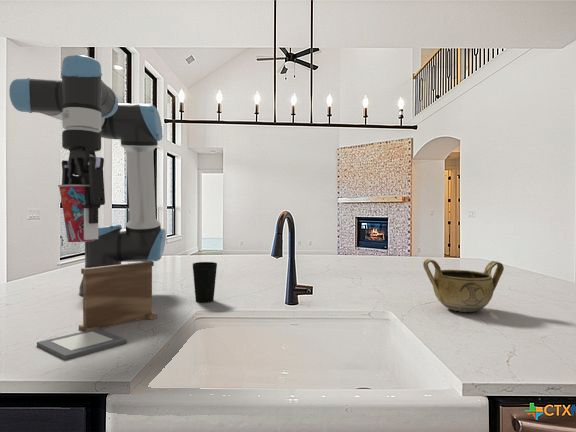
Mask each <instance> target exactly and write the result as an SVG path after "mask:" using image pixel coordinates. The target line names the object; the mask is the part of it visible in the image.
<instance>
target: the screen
mask: <svg viewBox="0 0 576 432" xmlns="http://www.w3.org/2000/svg"><path fill="white" fill-rule="evenodd" d="M154 262H155V261H146V262H127V263H121V264H119V265H109V266H100V267H91V268H85V267H84V268H83V267H82V268H80V271H81V273H80V274H81V275H82V278H83V295H82V309H83V310H82V322H83V323H81V324H78V330H80V331H81V332H83V331H88V330H95V329H99V330H102V329H105V328H109V327H113V326H116V325H117V326H119V325H122V323H123V324H126V323H129V322H134V321H140V320H143V319H148V320H154V319H158V314H157V313H153V267H154V266H155V263H154Z"/></svg>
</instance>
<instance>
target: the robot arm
mask: <svg viewBox="0 0 576 432" xmlns="http://www.w3.org/2000/svg"><path fill="white" fill-rule="evenodd" d="M60 75H61V80H59V79H58V80H57V79H40V78H39V79H36V78H30V77H28V78H16V79H14V80H12V81H11V82H10V86H9V99H10V102H11V105H12V106H13V108H14V109H15V110H16V111H18V112H23V113H30V114H31V113H32V114H33V113H35V114H36V113H37V114H38V113H39V114H42V115H46V116H48V117H51V118H54V119H56V120H59V121H62V122H61V123H62V124H61V125H62V128H63V129H64V130H62V132H61V133H62V134H61V137H62V138H61V141H62V142H61V145H62V148H63V149H64V150H68V151H69V155H68V160H62V161H61V170H62V171H61V172H62V175H61V177H62V178H61V185H69V184H80V185H90V186H85V202H86V204H85V205H83V208H84V240H92V239H94V241H90V242H83V243H84V268H91V267H100V266H109V265H119V264H122V262H123V263H124V262H127V263H137V262H146V261H153V262H159V261H160V260H161V259H162V256H163V254H164V252H165V251H164V250H165V246H166V245H165V244H166V239H167V238H166V237H167V233H166V229H165V228H161V226H162V225H161V222H160V221H159V220H158V219H157V218H156V217H157V216H156V192H155V191H156V190H155V189H156V188H155V165H154V163H155V162H154V161H155V160H154V150H155V149H156V148H157V147H158V142H160V141H162V139H163V125H162V120H161V117H160V113H159V111H158V109H157V107H156V106H155V105H153V104H144V103H123V102H121V103H119V99H118V96H117V94H116V93H115V92H114V90H113V89H112V88H111V87H110V86H108V85H107V84H106V83H105V82H104V81H103V80H102V76H103V73H102V65H101V63H100V61H98V60H97V59H95V58H93V57H90V56H86V55H79V54H77V55H76V54H73V55H72V54H70V55H67V56H65V57H63V59H62V66H61V73H60ZM102 138H103V139H108V140H120V146H121V147H123V149H124V150H125V151H126V171H127V172H126V173H127V174H126V175H127V191H128V209H129V212H128V213H129V220H128V222H126V224H125V228H123V226H122V225H121V224H115V225H106V226H99V209H101V206H104V205H105V204H106V197H105V195H106V193H105V181H104V179H105V178H104V165H105V159H104V157H100V156H99V157H98V156H97V155H96V152H100V151H102ZM99 198H100V199H99ZM60 205H62V201H61V200H60ZM78 291H79V295H80V296H81V295H82V296H83V277H82V279H81V282H80V284H79V290H78Z"/></svg>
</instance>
